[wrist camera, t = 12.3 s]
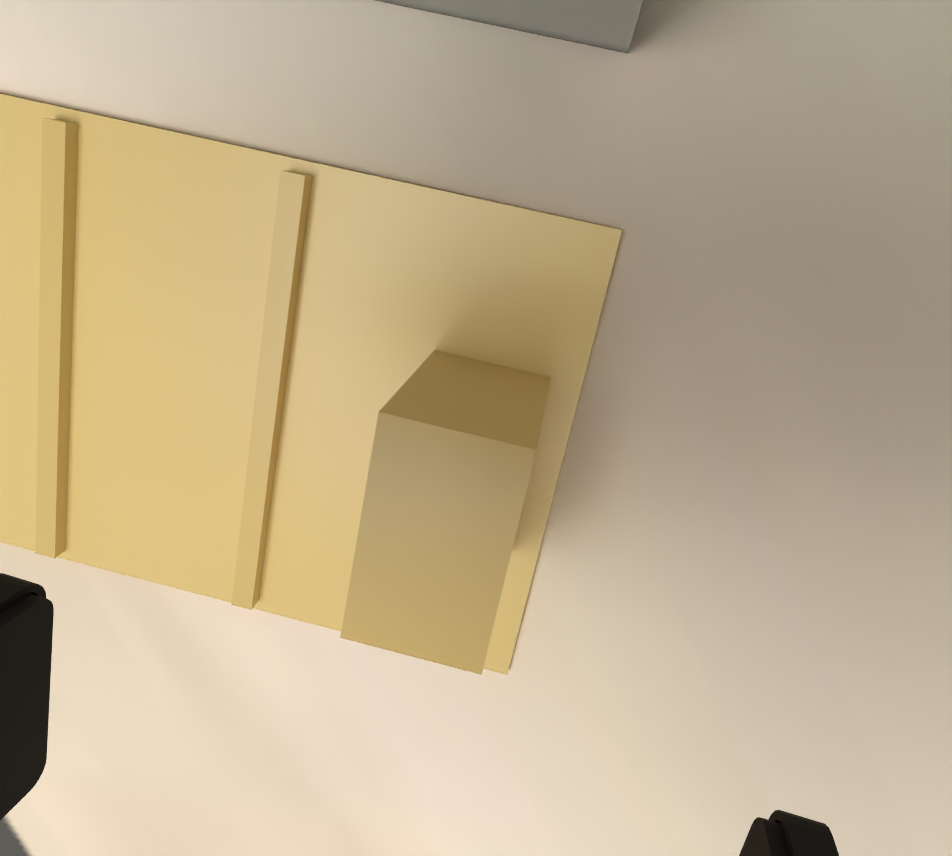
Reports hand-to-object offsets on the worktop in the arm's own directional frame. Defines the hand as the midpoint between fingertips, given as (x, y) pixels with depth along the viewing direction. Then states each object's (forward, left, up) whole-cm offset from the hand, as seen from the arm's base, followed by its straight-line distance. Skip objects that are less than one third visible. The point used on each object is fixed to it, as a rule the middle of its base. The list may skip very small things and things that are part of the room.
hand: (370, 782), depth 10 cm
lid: (0, +8, -12) cm, 15 cm away
